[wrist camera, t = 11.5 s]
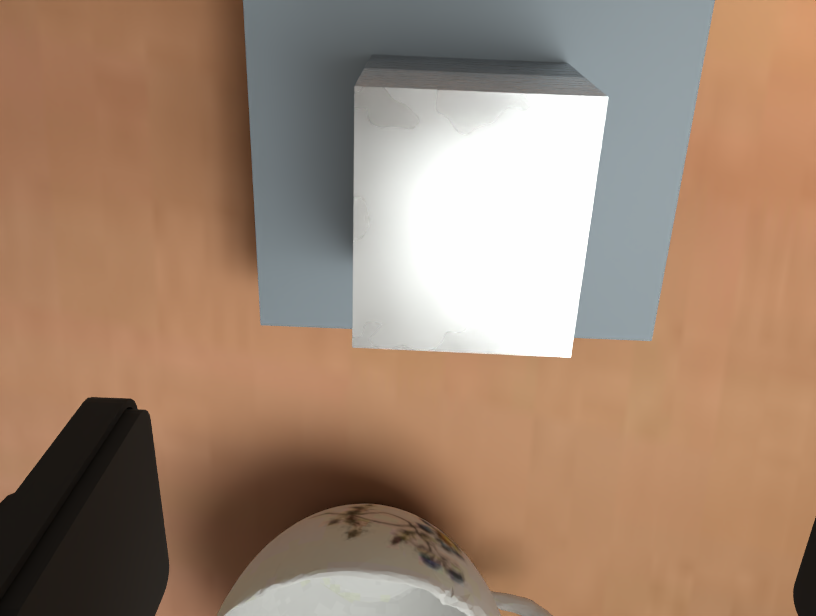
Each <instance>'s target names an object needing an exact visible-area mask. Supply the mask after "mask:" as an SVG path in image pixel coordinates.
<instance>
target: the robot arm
mask: <svg viewBox="0 0 816 616" xmlns="http://www.w3.org/2000/svg"><path fill="white" fill-rule="evenodd" d="M168 575H169V558H168V550H167V543H166V535H165V527H164V519H163V512H162V504H161V496H160V488H159V481H158V473H157V465H156V457H155V450H154V442H153V434H152V426H151V419H150V415H149V413H148V411H146V410H138V409H137V405H136V403H135V401H134V400H132V399H126V398H98V397H91V398H87V399H86V400H85V401H84V402H83V403H82V405H81V406H80V407H79V409H78V410H77V411H76V413H75V414H74V415H73V417H72V418H71V419H70V421H69V422H68V423H67V425H66V426H65V427H64V429H63V430H62V431H61V433H60V434H59V435H58V436H57V438H56V439H55V440H54V442H53V443H52V444H51V446H50V447H49V448H48V450H47V451H46V452H45V454H44V455H43V456H42V458H41V459H40V460H39V462H38V463H37V464H36V466H35V467H34V468H33V469H32V471H31V472H30V473H29V475H28V476H27V477H26V479H25V480H24V481H23V483H22V484H21V485H20V487H19V488H18V489H17V491H16V492H15V493H13V494H10V495H8V496H7V497H6V498H5V499H4V500H3V501H2V502H1V503H0V616H155V614H156V612H157V609H158V607H159V604H160V602H161V599H162V597H163V595H164V592H165V589H166V586H167V581H168ZM793 598H794V604H795V608H796V611H797V613H798V616H816V518H815V521H814V524H813V527H812V531H811V534H810V537H809V540H808V543H807V546H806V550H805V553H804V556H803V559H802V562H801V565H800V568H799V572H798V575H797V578H796V581H795V584H794V590H793Z"/></svg>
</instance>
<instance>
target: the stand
mask: <svg viewBox="0 0 816 616" xmlns="http://www.w3.org/2000/svg"><path fill="white" fill-rule="evenodd" d="M714 2H715V0H243V9H244V27H245V46H246V64H247V82H248V101H249V119H250V138H251V156H252V174H253V193H254V211H255V230H256V248H257V266H258V285H259V303H260V322H261V325H270V326H295V327H320V328H344V329H352V328H353V205H354V86H355V84H356V82H357V81H358V79H359V77H360V75H361V73H362V71H363V70H364V68H365V66H366V64H367V62H368V60H369V59H370V57H371V55H372V54H377V55H400V56H424V57H447V58H471V59H494V60H517V61H541V62H564V63H569V64H570V65H571V66H572V67H573V68H574V69H576V70H577V71H578V72H579V73H580V74H582V75H583V76H584V77H585V78H586V79H588V80H589V81H590V82H591V83H592V84H593V85H595V86H596V87H597V88H598V89H599V90H601V91H602V92H603V93H604V94H605V95H606V96H608V102H607V109H606V116H605V123H604V130H603V137H602V144H601V151H600V158H599V165H598V172H597V179H596V186H595V193H594V199H593V206H592V213H591V220H590V227H589V234H588V241H587V248H586V255H585V262H584V269H583V276H582V283H581V290H580V297H579V303H578V310H577V317H576V324H575V331H574V338H592V339H617V340H642V341H652V336H653V330H654V325H655V319H656V314H657V309H658V303H659V298H660V293H661V287H662V282H663V276H664V271H665V266H666V260H667V255H668V250H669V244H670V239H671V233H672V228H673V223H674V217H675V212H676V207H677V201H678V196H679V190H680V185H681V180H682V174H683V169H684V163H685V158H686V153H687V147H688V142H689V137H690V131H691V126H692V120H693V115H694V110H695V104H696V99H697V94H698V88H699V83H700V77H701V72H702V67H703V61H704V56H705V51H706V45H707V40H708V34H709V29H710V24H711V18H712V13H713V7H714Z"/></svg>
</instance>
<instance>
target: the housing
mask: <svg viewBox="0 0 816 616" xmlns="http://www.w3.org/2000/svg"><path fill="white" fill-rule="evenodd" d="M607 102H608V96H606V95H605V94H604V93H603V92H602V91H601V90H599V89H598V88H597V87H596V86H595V85H593V84H592V83H591V82H590V81H589V80H588V79H586V78H585V77H584V76H583V75H582V74H580V73H579V72H578V71H577V70H576V69H574V68H573V67H572V66H571V65H570V64H569V63H564V62H541V61H517V60H494V59H471V58H447V57H424V56H400V55H377V54H372V55H371V57H370V59H369V60H368V62H367V64H366V66H365V68H364V70H363V71H362V73H361V75H360V77H359V79H358V81H357V82H356V84H355V86H354V205H353V328H352V347H353V348H375V349H397V350H419V351H440V352H462V353H484V354H506V355H528V356H550V357H571V352H572V345H573V338H574V331H575V324H576V317H577V310H578V303H579V297H580V290H581V283H582V276H583V269H584V262H585V255H586V248H587V241H588V234H589V227H590V220H591V213H592V206H593V199H594V193H595V186H596V179H597V172H598V165H599V158H600V151H601V144H602V137H603V130H604V123H605V116H606V109H607Z"/></svg>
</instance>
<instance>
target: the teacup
mask: <svg viewBox="0 0 816 616" xmlns="http://www.w3.org/2000/svg"><path fill="white" fill-rule="evenodd" d="M498 608H499V609H501V610H505V611H509V612H514V613H517V614H519V615H522V616H552V615H551V614H550V613H549V612H548V611H547V610H545V609H544V608H542V607H541V606H539V605H538V604H537V603H535V602H534V601H532V600H530V599H527V598H524V597H520V596H516V595H511V594H506V593H499V592H493V591H490V590H489V588H488V586H487V584H486V583H485V581H484V579H483V578H482V576H481V574H480V573H479V572H478V570H477V569H476V567H475V566H474V564H473V563H472V562H471V560H470V559H469V558H468V556H467V555H466V554H465V553H464V552H463V551H462V550H461V548H460V547H459V546H458V545H457V544H456V543H455V542H454V541H453V540H451V539H450V538H449V537H448V536H447V535H446V534H445V533H443V532H442V531H441V530H440V529H438V528H437V527H435V526H434V525H432V524H430V523H429V522H427V521H426V520H424V519H422V518H420V517H418V516H416V515H414V514H412V513H409V512H407V511H404V510H401V509H398V508H394V507H389V506H385V505H378V504H364V503H363V504H350V505H343V506H337V507H333V508H330V509H326V510H324V511H321V512H318V513H315V514H313V515H311V516H309V517H306V518H304V519H303V520H301V521H299V522H297V523H295V524H294V525H292V526H291V527H289V528H288V529H287V530H285V531H284V532H282V533H281V534H280V535H278V536H277V537H276V538H275V539H273V540H272V541H271V542H270V543H269V544H267V545H266V546H265V547H264V548H263V549H262V550H261V551H260V553H259V554H258V555H257V556H256V557H255V558H254V559H253V560H252V561H251V562H250V564H249V565H248V566H247V568H246V569H245V570H244V572H243V573H242V574H241V575H240V577H239V578H238V580H237V581H236V583H235V584H234V586H233V587H232V589H231V590H230V592H229V594H228V595H227V597H226V599H225V600H224V602H223V604H222V606H221V608H220V610H219V612H218V614H217V616H501V615H500V612H499V610H498Z"/></svg>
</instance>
